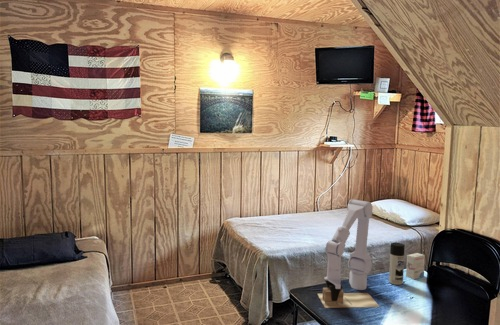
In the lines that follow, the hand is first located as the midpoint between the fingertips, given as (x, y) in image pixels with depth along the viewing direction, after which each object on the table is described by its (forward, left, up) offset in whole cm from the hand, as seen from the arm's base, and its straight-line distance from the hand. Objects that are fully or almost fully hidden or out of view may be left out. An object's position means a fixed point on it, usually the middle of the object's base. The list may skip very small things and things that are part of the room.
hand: (332, 298), depth 176 cm
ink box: (-31, +53, -3) cm, 61 cm away
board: (-1, +7, -3) cm, 8 cm away
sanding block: (0, 0, -1) cm, 1 cm away
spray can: (-23, +39, -3) cm, 45 cm away
